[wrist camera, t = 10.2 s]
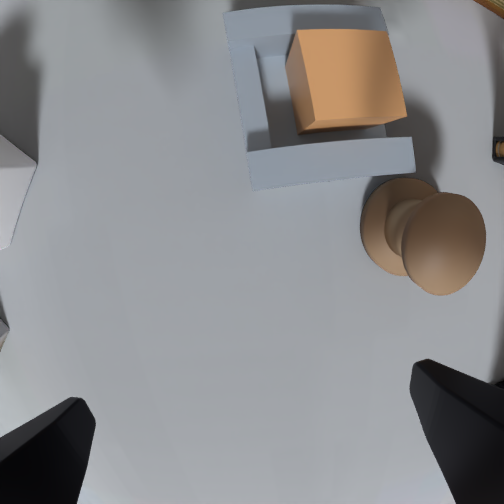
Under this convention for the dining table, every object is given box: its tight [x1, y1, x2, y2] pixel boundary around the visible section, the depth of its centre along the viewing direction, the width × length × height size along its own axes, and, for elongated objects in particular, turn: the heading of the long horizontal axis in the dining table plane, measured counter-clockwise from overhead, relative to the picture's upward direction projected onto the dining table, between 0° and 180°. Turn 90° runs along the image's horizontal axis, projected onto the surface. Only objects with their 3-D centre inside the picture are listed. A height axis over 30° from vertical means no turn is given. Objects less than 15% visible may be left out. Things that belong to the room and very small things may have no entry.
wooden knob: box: [360, 178, 486, 295], centre depth 15 cm, size 6×6×6 cm
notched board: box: [223, 4, 416, 191], centre depth 14 cm, size 9×8×4 cm
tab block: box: [285, 29, 407, 135], centre depth 13 cm, size 4×4×5 cm
